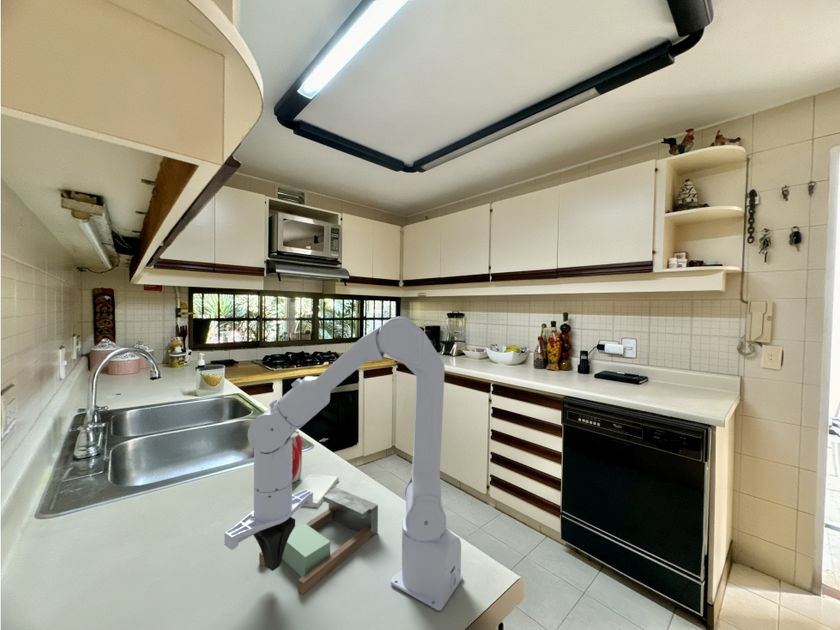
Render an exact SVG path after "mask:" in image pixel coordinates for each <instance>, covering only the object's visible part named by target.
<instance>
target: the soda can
mask: <svg viewBox="0 0 840 630" xmlns="http://www.w3.org/2000/svg"><path fill="white" fill-rule="evenodd" d="M291 437H292V484H294V483H295V482H296V481H297V480H299V479H300V478H301V476H302V466H303V465H302V463H303V461H302V460H303V445H302V444H303V441H302V437H301V436H300V432H299V431H298V430H295V432H294V433H293V434H292V436H291ZM293 482H294V483H293Z"/></svg>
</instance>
